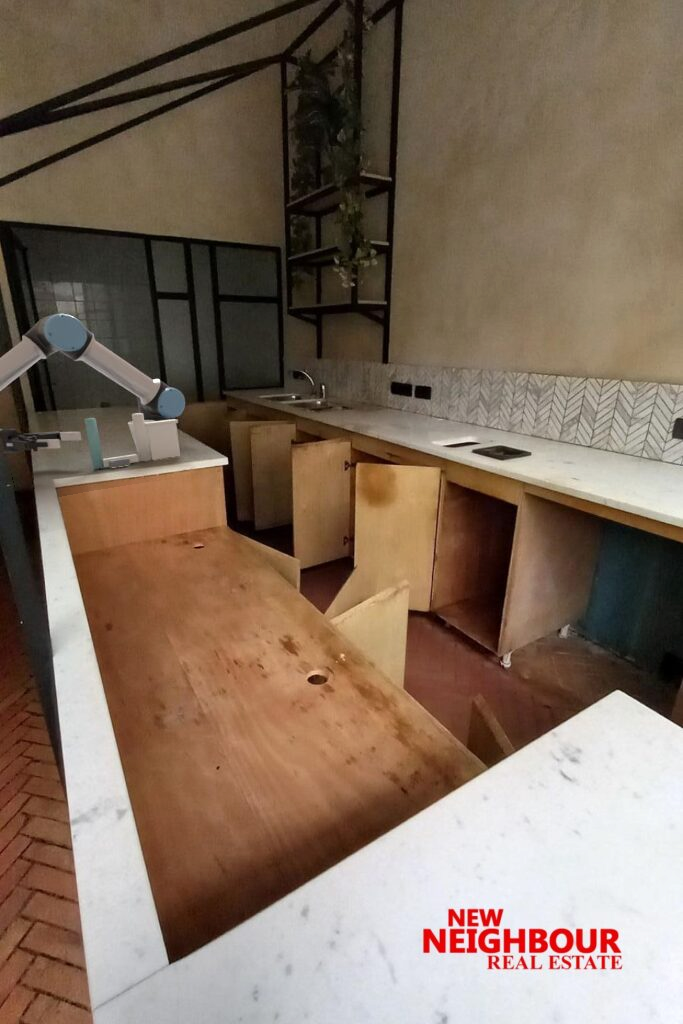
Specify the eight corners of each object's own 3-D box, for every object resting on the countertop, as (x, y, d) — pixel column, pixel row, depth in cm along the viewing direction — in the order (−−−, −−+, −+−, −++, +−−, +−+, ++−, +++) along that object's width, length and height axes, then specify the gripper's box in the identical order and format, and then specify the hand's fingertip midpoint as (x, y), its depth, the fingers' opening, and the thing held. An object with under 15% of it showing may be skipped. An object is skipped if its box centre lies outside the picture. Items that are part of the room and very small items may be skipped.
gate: (147, 458, 175) (140, 412, 169) (151, 460, 172) (144, 413, 167) (92, 467, 163) (83, 418, 158) (95, 469, 161) (86, 419, 156)
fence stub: (179, 454, 181) (174, 419, 177) (182, 456, 179) (177, 419, 175) (148, 459, 175) (143, 422, 170) (151, 461, 172) (146, 423, 168)
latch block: (128, 464, 168) (127, 457, 167) (130, 465, 166) (129, 458, 165) (109, 467, 164) (108, 460, 163) (111, 468, 162) (110, 461, 162)
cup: (133, 454, 183) (128, 424, 180) (130, 450, 192) (126, 421, 188) (161, 451, 188) (157, 422, 184) (157, 447, 196) (153, 419, 192)
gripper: (29, 445, 172) (90, 443, 173) (-20, 461, 149) (51, 459, 149) (24, 423, 170) (86, 422, 170) (-26, 436, 146) (46, 434, 147)
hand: (70, 439), depth 160 cm, fingers open, 13 cm apart
